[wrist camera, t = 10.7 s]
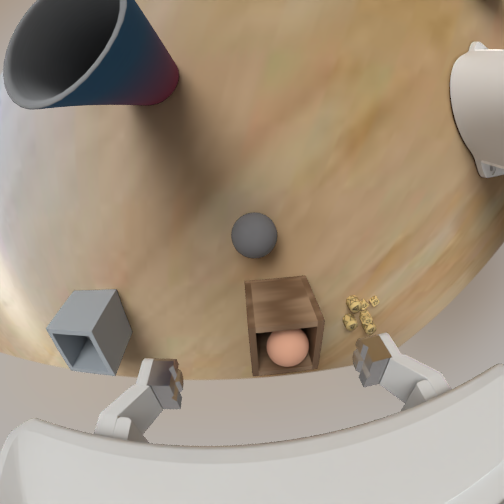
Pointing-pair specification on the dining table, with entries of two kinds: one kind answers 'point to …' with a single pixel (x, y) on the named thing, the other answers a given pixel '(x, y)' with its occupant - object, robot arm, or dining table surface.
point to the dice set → (364, 315)
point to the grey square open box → (91, 331)
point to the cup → (87, 56)
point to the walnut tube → (282, 320)
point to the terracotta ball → (287, 347)
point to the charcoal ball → (254, 235)
